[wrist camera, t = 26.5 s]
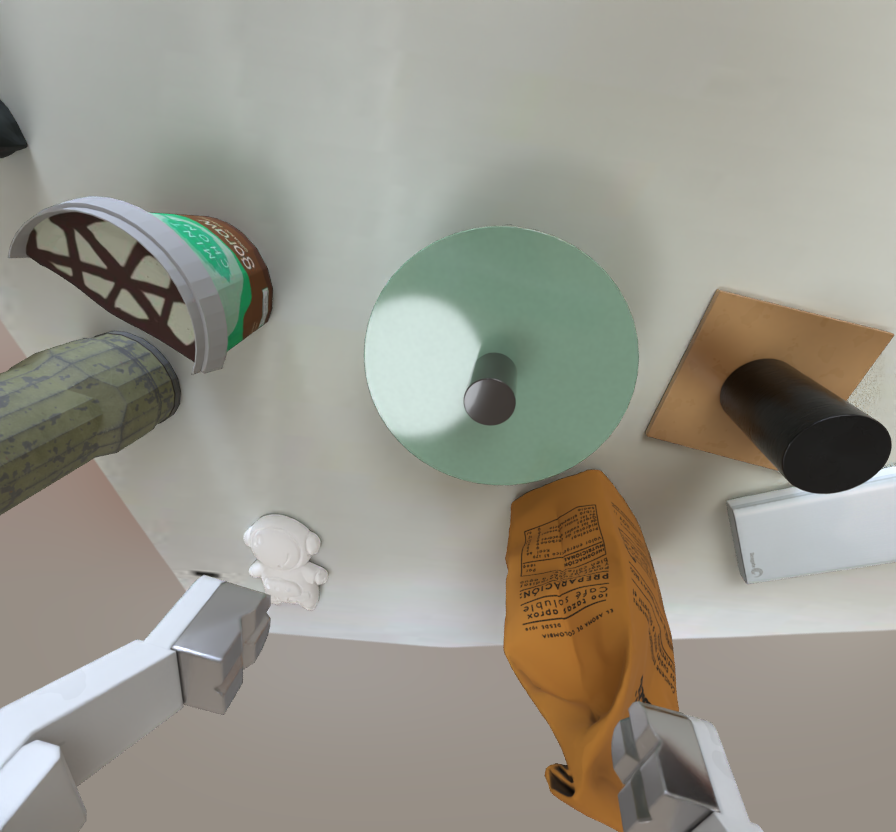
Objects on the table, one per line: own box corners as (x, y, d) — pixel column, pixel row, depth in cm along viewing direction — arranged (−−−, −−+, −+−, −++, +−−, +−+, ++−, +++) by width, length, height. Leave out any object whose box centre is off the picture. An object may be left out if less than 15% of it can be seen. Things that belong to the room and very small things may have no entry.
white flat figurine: (257, 590, 49) (241, 613, 46) (244, 506, 43) (226, 527, 41) (331, 606, 48) (320, 630, 46) (328, 522, 43) (315, 544, 40)
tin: (741, 350, 29) (817, 404, 21) (814, 368, 29) (915, 429, 21) (706, 412, 31) (763, 480, 24) (773, 429, 31) (852, 504, 24)
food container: (317, 266, 32) (236, 293, 23) (284, 333, 34) (200, 380, 25) (162, 156, 30) (9, 140, 21) (140, 236, 33) (-2, 251, 24)
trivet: (716, 289, 28) (720, 290, 28) (888, 331, 28) (895, 334, 27) (644, 432, 33) (646, 436, 33) (788, 470, 33) (792, 475, 32)
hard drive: (747, 586, 36) (934, 560, 32) (732, 510, 33) (937, 471, 29) (738, 571, 38) (917, 544, 34) (724, 497, 35) (918, 458, 31)
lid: (389, 192, 23) (355, 191, 18) (685, 266, 22) (726, 284, 18) (356, 441, 30) (326, 484, 26) (577, 501, 29) (586, 557, 25)
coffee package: (548, 589, 42) (568, 927, 23) (496, 489, 38) (466, 800, 18) (655, 566, 39) (787, 937, 19) (612, 454, 35) (725, 786, 15)
